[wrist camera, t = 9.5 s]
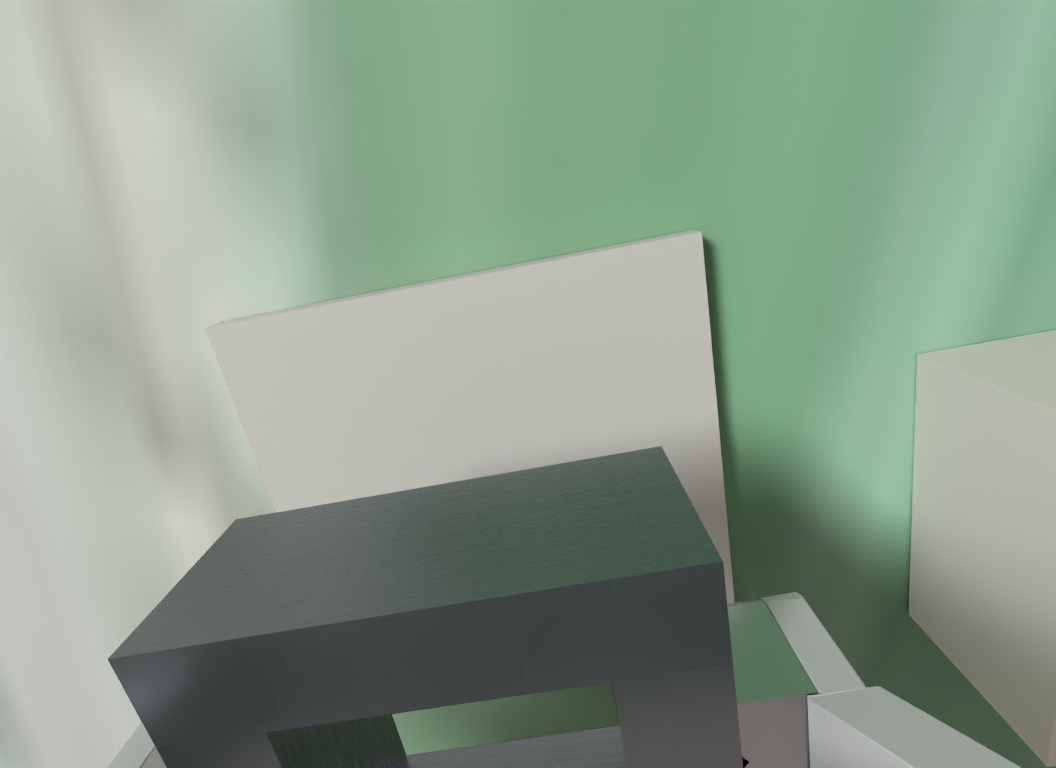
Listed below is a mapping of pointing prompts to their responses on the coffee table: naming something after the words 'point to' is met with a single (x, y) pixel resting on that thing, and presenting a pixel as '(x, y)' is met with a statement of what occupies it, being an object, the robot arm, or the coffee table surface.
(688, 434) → the coaster
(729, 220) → the coffee table surface
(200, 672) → the ring
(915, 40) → the coffee table surface
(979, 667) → the peg stand
